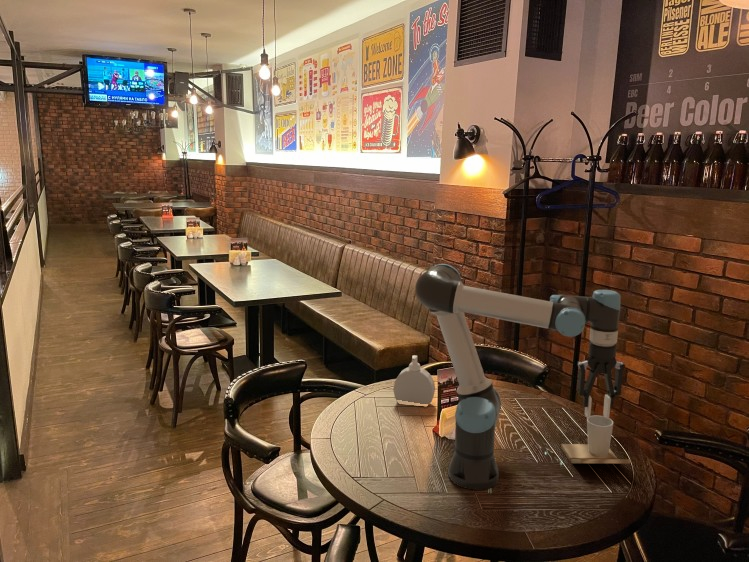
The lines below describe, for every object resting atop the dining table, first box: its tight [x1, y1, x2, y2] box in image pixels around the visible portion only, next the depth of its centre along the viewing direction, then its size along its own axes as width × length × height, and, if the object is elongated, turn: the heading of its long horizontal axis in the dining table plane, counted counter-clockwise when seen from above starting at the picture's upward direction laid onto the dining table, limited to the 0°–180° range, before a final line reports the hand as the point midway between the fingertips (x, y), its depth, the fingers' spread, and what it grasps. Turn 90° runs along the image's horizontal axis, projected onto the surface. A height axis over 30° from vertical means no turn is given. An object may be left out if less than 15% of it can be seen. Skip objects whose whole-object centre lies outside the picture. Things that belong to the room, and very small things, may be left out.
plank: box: [570, 458, 631, 465], centre depth 174 cm, size 15×9×1 cm, turn 89°
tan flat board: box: [561, 443, 618, 463], centre depth 183 cm, size 15×9×1 cm, turn 89°
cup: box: [586, 415, 614, 457], centre depth 182 cm, size 8×8×12 cm
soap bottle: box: [392, 354, 436, 406], centre depth 220 cm, size 16×5×20 cm, turn 75°
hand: (596, 416), depth 169 cm, fingers open, 5 cm apart
